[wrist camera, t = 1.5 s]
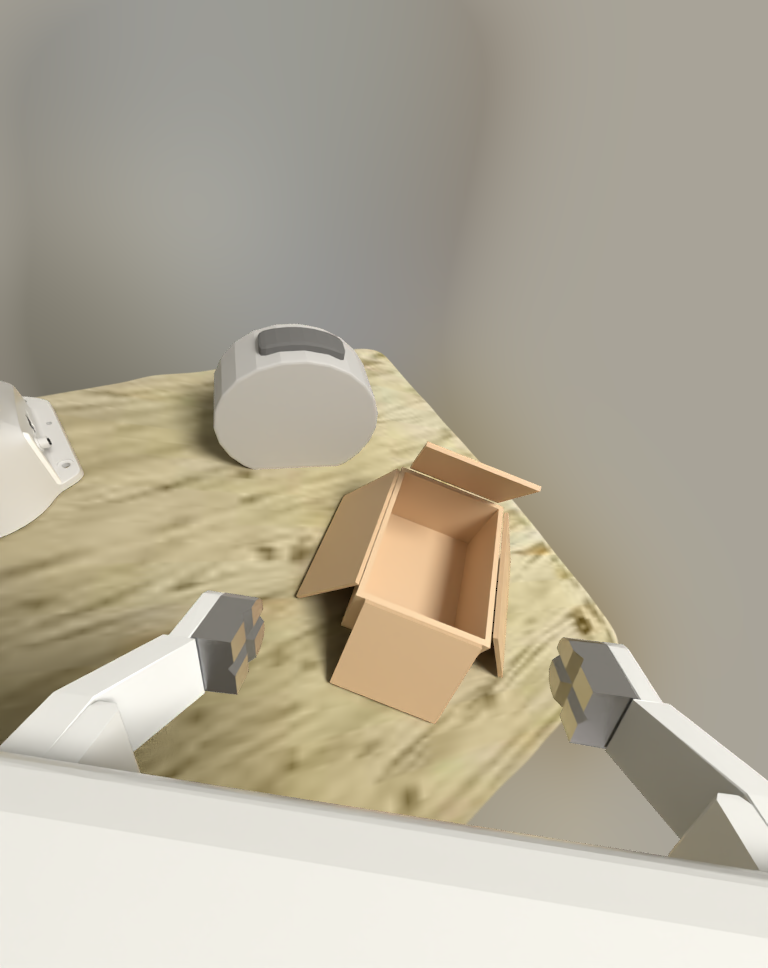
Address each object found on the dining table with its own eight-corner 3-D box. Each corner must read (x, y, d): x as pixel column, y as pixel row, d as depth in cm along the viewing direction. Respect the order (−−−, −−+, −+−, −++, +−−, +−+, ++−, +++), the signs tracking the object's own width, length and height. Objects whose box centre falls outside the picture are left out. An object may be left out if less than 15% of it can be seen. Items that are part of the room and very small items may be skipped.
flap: (497, 502, 46) (539, 491, 36) (410, 468, 46) (425, 446, 36) (498, 499, 47) (541, 486, 36) (411, 464, 46) (427, 441, 36)
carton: (494, 748, 39) (552, 745, 31) (266, 659, 39) (265, 632, 31) (508, 558, 54) (549, 523, 46) (345, 493, 54) (358, 446, 46)
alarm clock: (355, 430, 63) (382, 324, 47) (364, 464, 59) (397, 359, 43) (220, 432, 56) (201, 306, 40) (220, 470, 51) (199, 347, 36)
